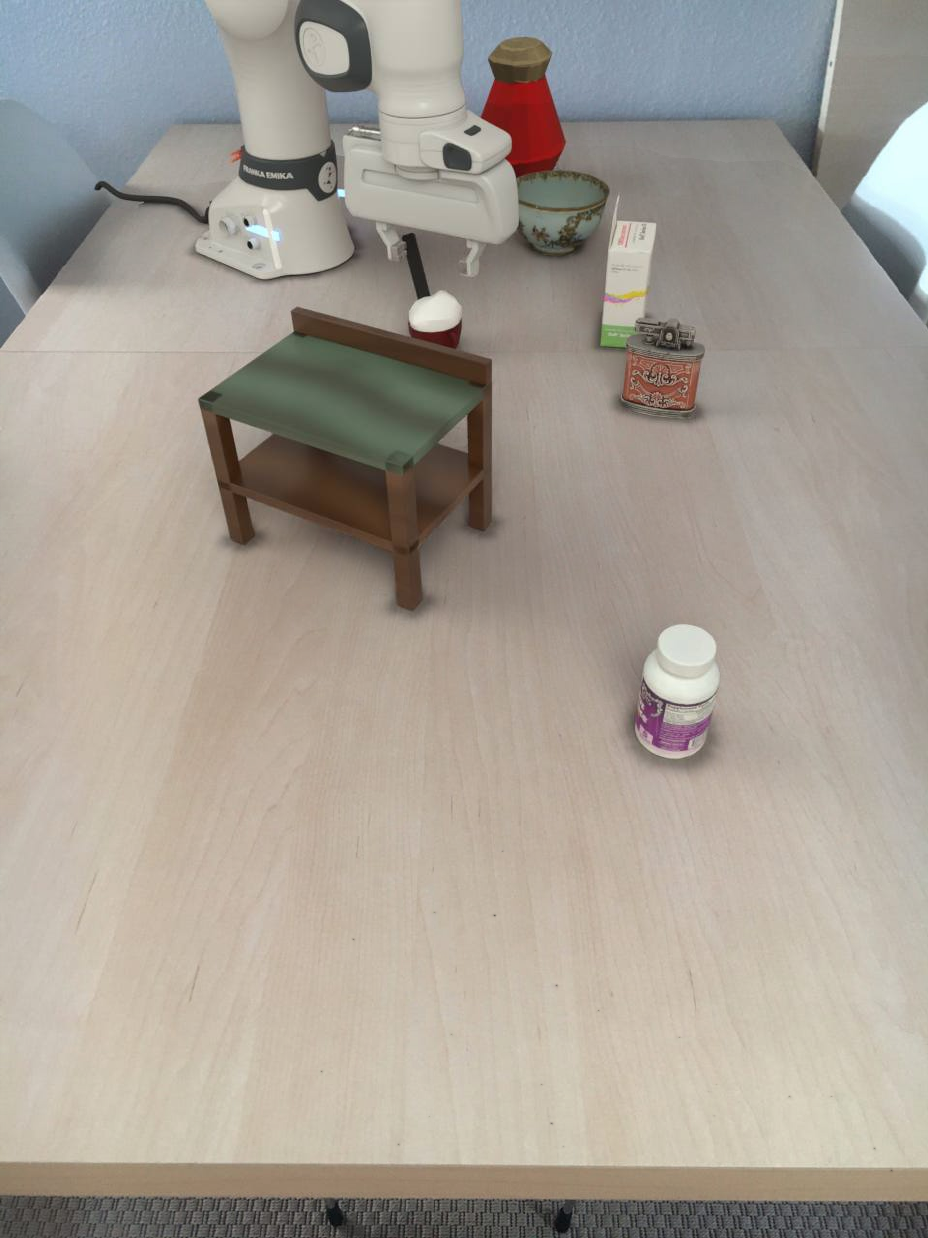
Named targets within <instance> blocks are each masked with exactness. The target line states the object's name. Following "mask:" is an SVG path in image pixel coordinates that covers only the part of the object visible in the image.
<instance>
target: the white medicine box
mask: <svg viewBox="0 0 928 1238" xmlns="http://www.w3.org/2000/svg"><path fill="white" fill-rule="evenodd" d="M619 201H620V194H618V195H617V198H616V201H615V207H614V211H613V215H612V221H611V229H610V235H609V240H608V241H609V242H608V248H607V261H606V273H605V284H604V295H603V307H602V319H601V328H600V329H601V331H600V343H599V345H600V347H610V348H622V349H626V342H627V338H628V337H629V336H631V335H635V334H641V335H643V333H637V332H635V331H634V330H635V321H636V320H637V319H638V318H639V317H642V318H646V313H647V307H648V298H649V292H650V283H651V275H652V267H653V260H654V252H655V244H656V233H657V223H656V222H646V221H632V220H631V221H628V220H617V216H618V207H619V203H620V202H619Z"/></svg>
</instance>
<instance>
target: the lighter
mask: <svg viewBox="0 0 928 1238" xmlns="http://www.w3.org/2000/svg"><path fill="white" fill-rule="evenodd" d="M634 331H635V332H637V333H642V335H641V334H635V335H631V336H629V337H628V338H627V342H626V348H625V349H626V358H625V359H626V360H625V367H624V377H623V387H622V393H621V394H620V400H619V405H620V407H621V408H623V409H624V410H628V411H631V412H636V413H638V414H644V415H649V416H653V417H660V418H661V417H662V418H668V419H669V418H671V419H690V418H692V417H693V416H694V415H695V413H696V405H697V404H696V396H697V389H698V383H699V379H700V372H701V365H702V360H703V359H704V357H705V350H706V347H705V346H704V345H703V344H702V343H700V342H697V341H694V340H695V338H696V331H697V327H696V326H694V325H689V324H683V323H680V321H679V320H678V319H677V318H673V317H672V318H668V319H667V320H666V321H661V320H660V319H656V318H649V317H645V318H642V317H639V318H638V319H637V320H636V321H635V330H634Z"/></svg>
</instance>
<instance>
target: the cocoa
mask: <svg viewBox="0 0 928 1238" xmlns="http://www.w3.org/2000/svg"><path fill="white" fill-rule="evenodd" d="M401 241H404V242H406V246H407V248H406V251H407V257H406V261H407V264H408V268H409V272H410V276H411V279H412V283H413V287H414V291H415V294H416V298H417V300H415V301H414V303H413V304H412V306H411V307H410V308H409V310H408V319H409V320H408V322H407V327H408V333H409V337H412V338H416V339H419V340H423V341H427V342H430V343H434V344H438V345H442V346H445V347H449V348H453V349H456V350H457V348H458V345H459V343H460V340H461V339H460V338H461V334H462V329H463V306H462V305H461V304H460V303H459V302H458V300H457V298H456V297H455V296H453V295H452V294H450V293H449V292H447V291H446V289H441V290H440V289H439V290H437V291H436V292H435V293H433V294H432V295H431V292H430V288H429V284H428V279H427V275H426V272H425V268H424V264H423V261H422V257H421V252H420V248H419V245H418V241H417V237H416V234H415V233H414V232H410V233H407V234H403V235H402V237H401Z"/></svg>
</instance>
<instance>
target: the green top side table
mask: <svg viewBox="0 0 928 1238" xmlns="http://www.w3.org/2000/svg"><path fill="white" fill-rule="evenodd" d="M290 317H291V322H292V329H293V331H292V332H291V333H290V334H288V335H286V336H285V337H284V338H282V339H281V340H280V341H278V342H276V343H275V344H274V345H272V346H271V347H270V348H268V349H267V350H265V351H264V352H263V353H260V355H258V356H256V357H255V358H254V359H253V360H251V361H250V362H248V363H247V364H245V365H244V366H242V367H241V368H239V369H238V370H236V371H235V372H234V373H232V374H231V375H229V376H228V377H227V378H225V379H223V380H222V381H221V382H220V383H218V384H217V385H215V386H214V387H212V388H211V389H210V390H208V391H207V392H205V393H204V394H202V395H201V396H199V397H198V398H197V401H198V406H199V409H200V410H199V411H200V413H201V414H200V415H201V418H202V422H203V427H204V430H205V435H206V439H207V444H208V448H209V452H210V456H211V461H212V464H213V469H214V470H213V471H214V473H215V478H216V483H217V486H218V490H219V491H218V492H219V495H220V499H221V502H222V508H223V512H224V516H225V521H226V525H227V529H228V534H229V537H230V541H233V542H236V543H238V544H240V545H243V546H244V545H247V543H248V542H249V541H250V540H252V539H253V538H254V537H255V531H254V527H253V521H252V518H251V512H250V507H249V503H248V499H249V500H252V501H255V502H258V503H260V504H263V505H266V506H269V507H271V508H274V509H277V510H279V511H282V512H285V513H288V514H290V515H293V516H295V517H299V518H301V519H304V520H307V521H308V522H309V521H310V522H312V523H314V524H317V525H320V526H323V527H326V528H329V529H331V530H334V531H336V532H339V533H341V534H345V535H347V536H349V537H353V538H355V539H358V540H361V541H364V542H365V543H369V544H372V545H374V546H377V547H380V548H383V549H386V550H388V551H390V552H392V560H393V570H394V581H395V593H396V604H397V606H398V607H401V608H404V609H406V610H409V611H411V612H414V611H415V610H416V608H418V606H419V605H420V604H421V603H422V602H423V588H422V571H421V570H422V569H421V557H420V546H421V545H422V544H423V543H424V542H425V541H426V540H427V539H428V538H429V537H430V535H432V533H433V532H434V531H435V530H436V529H438V527H439V526H440V525H441V524H442V523H443V522H444V520H446V519H447V517H449V515H451V513H453V511H454V510H455V509H456V508H457V507H458V506H459V505H460V504H461V503H462V502H463V501H464V500H465V499H466V497H468V526H469V527H470V528H473V529H476V530H479V531H482V532H484V531H485V530H486V529H488V527H489V526H490V525H491V524H492V522H493V359H492V358H489V357H486V356H483V355H479V354H474V353H471V352H467V351H464V350H460V349H457V348H456V349H453V348H449V347H445V346H442V345H438V344H434V343H430V342H427V341H423V340H419V339H416V338H412V337H411V336H408V335H404V334H400V333H397V332H393V331H389V330H386V329H383V328H378V327H375V326H371V325H367V324H363V323H360V322H356V321H352V320H348V319H345V318H341V317H338V316H333V315H330V314H326V313H323V312H319V311H315V310H312V309H308V308H305V307H301V306H296V307H294V308H293V309H291V310H290ZM465 417H466V428H467V431H466V432H467V452H466V451H464V450H463V451H462V450H459V449H457V448H453V447H450V446H446V445H444V444H440V443H439V442H440V441H441V440H443V438H444V437H445V436H447V435H448V434H449V433H450V432H451V431H452V430H453V429H454V428H455V427H456V426H457V425H458V424H459V423H460V422H462V420H463V419H464V418H465ZM231 420H233V421H236V422H239V423H242V424H244V425H248V426H250V427H252V428H253V427H254V428H256V429H259V430H263V431H265V432H268V433H272V434H271V435H270V436H268V437H267V438H266V439H264V440H263V441H262V442H261V443H259V444H258V445H257V446H256V447H254V449H252V450H250V451H249V452H248V453H247V454H245V455H244V456H243V457H242V458H240V459H239V455H238V451H237V446H236V443H235V435H234V431H233V427H232V423H231Z"/></svg>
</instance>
